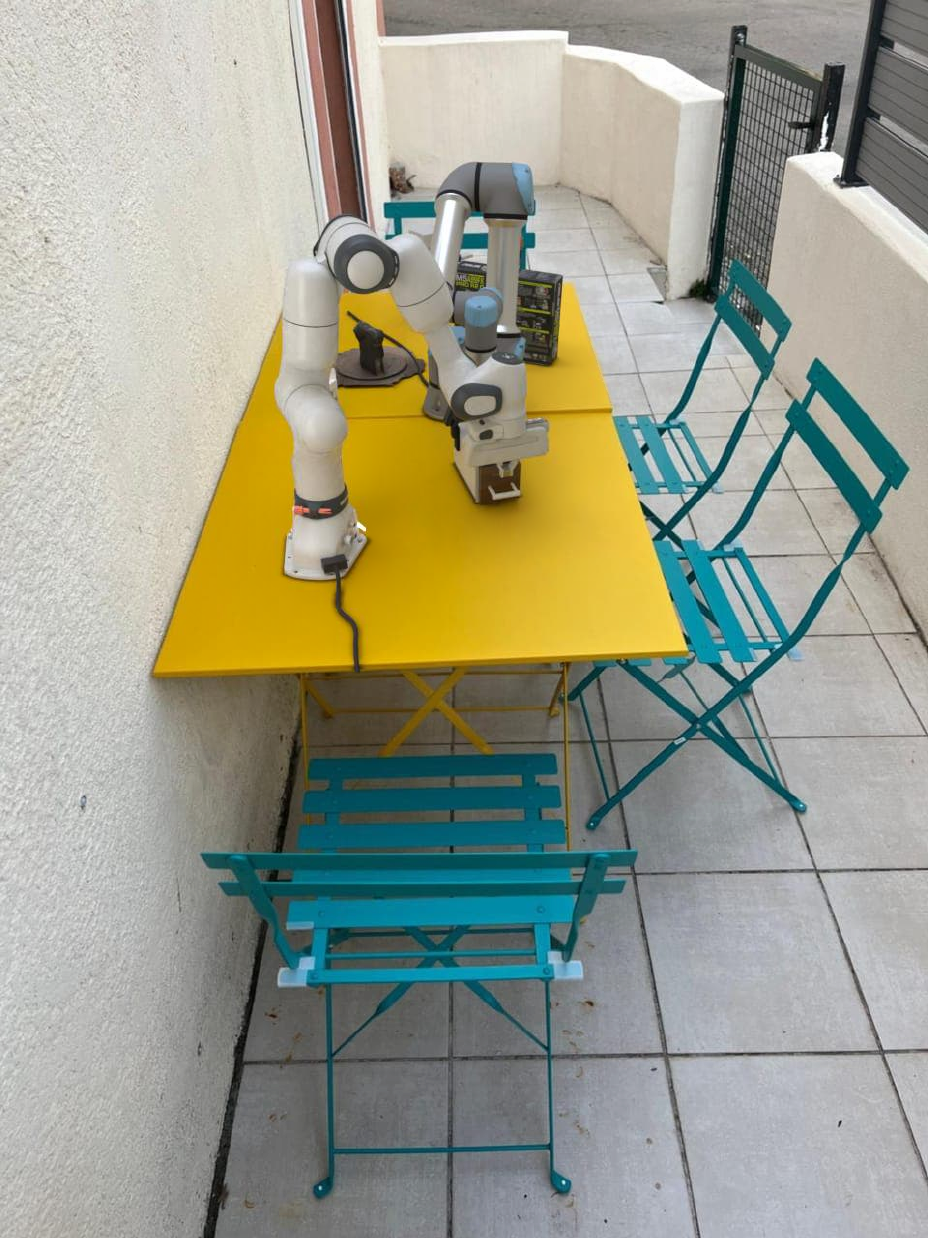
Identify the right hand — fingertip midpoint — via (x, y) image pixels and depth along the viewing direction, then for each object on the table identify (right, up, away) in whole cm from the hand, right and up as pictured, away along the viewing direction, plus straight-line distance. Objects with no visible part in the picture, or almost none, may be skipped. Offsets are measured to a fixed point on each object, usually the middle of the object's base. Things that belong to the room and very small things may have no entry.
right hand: (480, 445), depth 226 cm
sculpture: (-34, +34, +52) cm, 71 cm away
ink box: (-44, +13, +27) cm, 54 cm away
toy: (-16, +59, +81) cm, 102 cm away
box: (+9, +41, +59) cm, 73 cm away
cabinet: (+1, -9, +1) cm, 9 cm away
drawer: (+3, -11, -4) cm, 13 cm away
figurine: (+13, +70, +94) cm, 118 cm away
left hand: (+6, -10, -16) cm, 20 cm away
